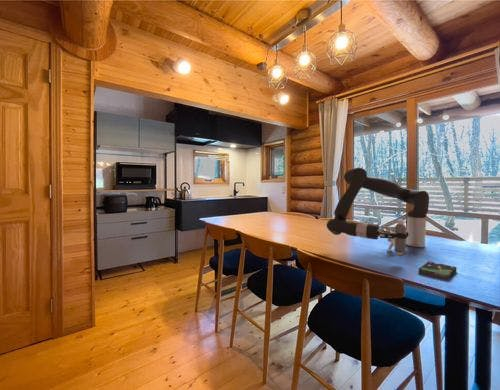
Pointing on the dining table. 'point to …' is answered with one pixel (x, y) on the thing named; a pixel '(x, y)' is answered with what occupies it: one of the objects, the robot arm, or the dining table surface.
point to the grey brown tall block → (400, 243)
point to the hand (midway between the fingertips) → (407, 235)
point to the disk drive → (437, 270)
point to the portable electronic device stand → (392, 245)
